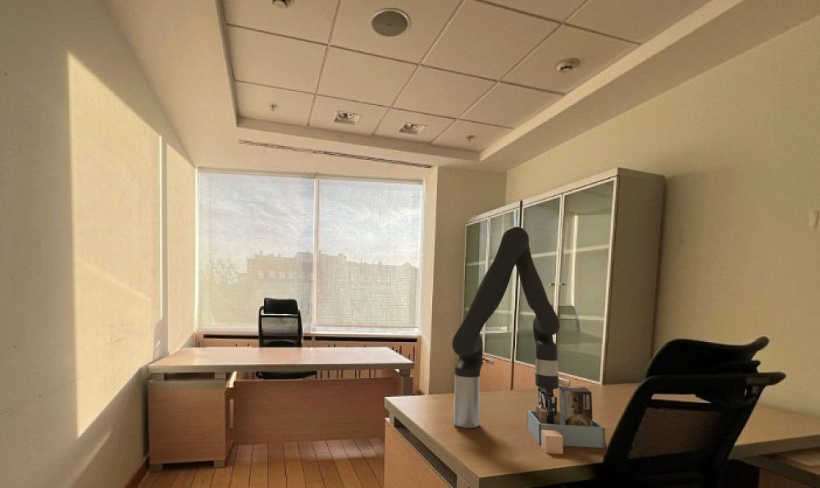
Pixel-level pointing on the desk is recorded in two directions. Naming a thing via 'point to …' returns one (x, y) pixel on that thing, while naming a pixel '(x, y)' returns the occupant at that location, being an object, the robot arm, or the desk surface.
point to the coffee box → (575, 406)
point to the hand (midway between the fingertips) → (547, 423)
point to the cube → (552, 441)
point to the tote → (569, 432)
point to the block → (545, 415)
